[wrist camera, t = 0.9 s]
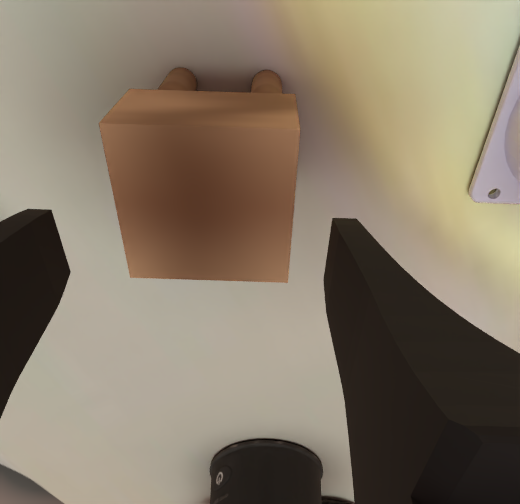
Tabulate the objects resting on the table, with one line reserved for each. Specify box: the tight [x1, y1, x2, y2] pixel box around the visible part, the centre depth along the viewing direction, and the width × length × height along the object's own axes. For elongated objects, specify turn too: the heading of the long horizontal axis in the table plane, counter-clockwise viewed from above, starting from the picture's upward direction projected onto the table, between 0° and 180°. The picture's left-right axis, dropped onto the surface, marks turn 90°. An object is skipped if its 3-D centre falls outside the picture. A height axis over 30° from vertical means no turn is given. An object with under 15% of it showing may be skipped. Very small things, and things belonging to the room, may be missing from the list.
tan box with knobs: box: [99, 67, 300, 283], centre depth 16 cm, size 5×5×7 cm
